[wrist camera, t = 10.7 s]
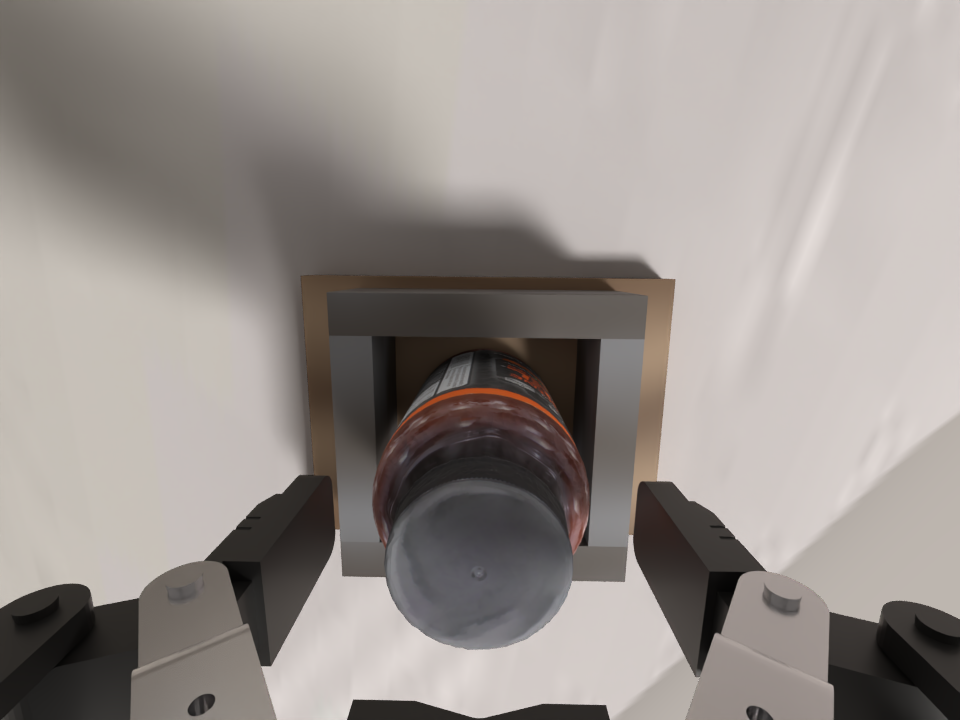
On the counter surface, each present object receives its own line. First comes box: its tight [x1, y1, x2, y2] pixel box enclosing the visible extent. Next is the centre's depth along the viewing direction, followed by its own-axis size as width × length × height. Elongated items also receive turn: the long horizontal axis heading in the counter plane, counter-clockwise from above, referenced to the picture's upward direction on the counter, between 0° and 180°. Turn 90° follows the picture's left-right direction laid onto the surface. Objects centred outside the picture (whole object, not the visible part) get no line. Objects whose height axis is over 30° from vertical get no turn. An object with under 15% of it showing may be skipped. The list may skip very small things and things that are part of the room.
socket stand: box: [301, 275, 675, 582], centre depth 19 cm, size 12×16×6 cm
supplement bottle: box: [372, 349, 590, 650], centre depth 15 cm, size 6×6×11 cm
